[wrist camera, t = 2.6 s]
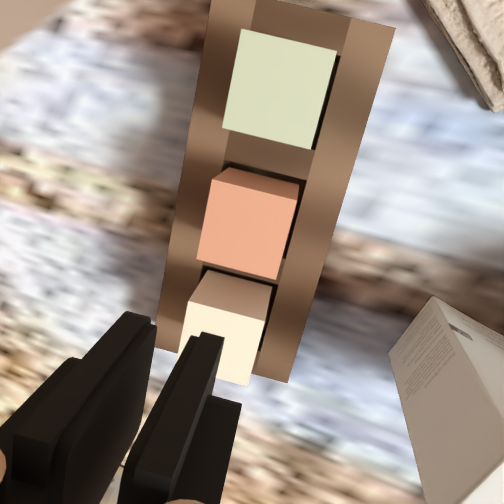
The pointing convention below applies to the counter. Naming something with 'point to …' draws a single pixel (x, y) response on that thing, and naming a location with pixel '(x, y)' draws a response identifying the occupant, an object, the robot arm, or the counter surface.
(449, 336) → the skincare box
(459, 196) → the counter surface
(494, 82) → the washcloth
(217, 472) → the robot arm
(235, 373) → the cream key
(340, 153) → the brown slotted tray
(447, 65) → the counter surface
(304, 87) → the sage key
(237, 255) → the terracotta key
